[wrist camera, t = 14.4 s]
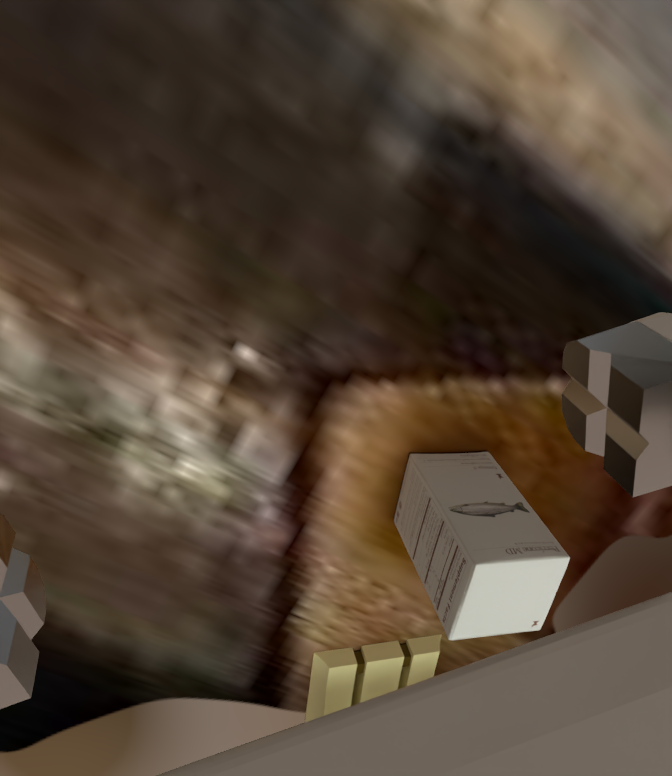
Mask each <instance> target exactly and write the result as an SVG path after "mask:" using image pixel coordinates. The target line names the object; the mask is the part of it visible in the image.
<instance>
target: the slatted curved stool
mask: <svg viewBox="0 0 672 776" xmlns="http://www.w3.org/2000/svg"><path fill="white" fill-rule="evenodd" d="M441 636H442V634H440V635H433V636H426V637H419V638H412V639H407V641H406V644H403V645H400V644H399V642H398V641H392V642H385V643H378V644H371V645H364V646H361V651H356V652H353V648H352V647H350V648H343V649H336V650H329V651H323V652H316V653H314V656H313V664H312V671H311V679H310V686H309V694H308V701H307V709H306V716H305V722H308V721H311V720H314V719H316V718H319V717H322V716H325V715H328V714H330V713H333V712H336V711H339V710H342V709H344V708H347V707H350V706H353V705H356V704H358V703H361V702H364V701H367V700H370V699H372V698H375V697H378V696H381V695H384V694H386V693H389V692H392V691H395V690H398V689H401V688H403V687H406V686H409V685H412V684H415V683H417V682H420V681H423V680H426V679H429V678H431V677H433V676H434V672H435V668H436V664H437V661H438V657H439V653H440V640H441ZM355 675H356V678H355ZM354 681H355V683H354ZM353 687H354V689H353Z"/></svg>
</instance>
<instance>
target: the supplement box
mask: <svg viewBox="0 0 672 776" xmlns="http://www.w3.org/2000/svg"><path fill="white" fill-rule="evenodd" d="M394 523H395V525H396V527H397V529H398V532H399V534H400V536H401V538H402V540H403V543H404V545H405V547H406V549H407V551H408V553H409V555H410V557H411V560H412V562H413V564H414V566H415V568H416V570H417V572H418V575H419V577H420V579H421V581H422V583H423V585H424V587H425V589H426V591H427V593H428V595H429V598H430V600H431V602H432V604H433V606H434V608H435V610H436V612H437V614H438V617H439V619H440V621H441V623H442V625H443V628H444V630H445V632H446V635H447V637H448V639H449V640H460V639H467V638H476V637H485V636H495V635H502V634H510V633H518V632H528V631H538V630H540V629H541V627H542V625H543V623H544V621H545V618H546V616H547V614H548V611H549V609H550V606H551V604H552V602H553V599H554V597H555V594H556V592H557V590H558V587H559V585H560V582H561V580H562V577H563V575H564V573H565V570H566V568H567V565H568V562H569V559H570V557H569V556H568V554H567V553H566V552H565V551H564V549H563V548H562V547H561V545H560V544H559V543H558V541H557V540H556V539H555V538H554V536H553V535H552V534H551V532H550V531H549V530H548V528H547V527H546V526H545V525H544V523H543V522H542V521H541V519H540V518H539V517H538V515H537V514H536V513H535V511H534V510H533V509H532V508H531V506H530V505H529V504H528V502H527V501H526V500H525V499H524V497H523V496H522V495H521V493H520V492H519V491H518V489H517V488H516V487H515V486H514V484H513V483H512V482H511V480H510V479H509V478H508V476H507V475H506V474H505V472H504V471H503V470H502V468H501V467H500V466H499V465H498V463H497V462H496V461H495V459H494V458H493V457H492V456H491V454H490V453H489V452H478V453H457V454H410V456H409V459H408V463H407V467H406V471H405V475H404V479H403V483H402V487H401V491H400V496H399V500H398V504H397V508H396V513H395V517H394Z"/></svg>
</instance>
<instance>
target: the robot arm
mask: <svg viewBox="0 0 672 776" xmlns="http://www.w3.org/2000/svg"><path fill="white" fill-rule="evenodd" d="M563 369H564V370H565V371H566V372H567V373H568V374H569V375H570V376H571V377H572V378H571V380H570V382H569V383H568V385H567V386H566V388H565V390H564V391H563V393H562V412H563V415H564V418H565V421H566V424H567V427H568V430H569V431H570V433H571V434H572V436H573V438H574V439H575V441H576V442H577V443H578V444H579V445H580V446H581V447H582V448H583V449H584V450H585V451H588V452H591V453H594V454H597V455H600V456H604V470H605V471H606V472H607V473H608V474H609V475H610V476H611V477H612V478H613V479H615V480H616V481H617V482H618V483H619V484H620V485H621V486H622V487H623V488H624V489H625V490H626V491H627V492H628V493H629V494H630V495H631V496H632V497H635V496H639V495H642V494H645V493H649V492H652V491H655V490H659V489H662V488H665V487H669V486H672V314H671V313H661V312H660V313H657V314H654V315H651V316H648V317H645V318H642V319H639V320H636V321H633V322H630V323H629V324H626V325H623V326H620V327H616V328H613V329H610V330H607V331H604V332H600V333H597V334H594V335H591V336H588V337H584V338H581V339H578V340H575V341H572V342H568V343H567V345H566V347H565V350H564V353H563ZM15 534H16V532H15V531H14V529H13V528H12V526H11V525H10V524H9V522H8V521H7V519H6V518H5V516H4V515H2V514H0V709H1V708H4V707H7V706H10V705H12V704H15V703H18V702H21V701H23V700H26V699H29V698H31V695H32V689H33V684H34V678H35V672H36V667H37V661H38V655H39V651H38V650H37V649H36V647H35V646H34V644H33V643H32V641H31V639H32V638H33V637H34V635H35V634H36V633H37V632H38V630H39V629H40V628H41V627H42V626H43V624H44V619H45V612H46V597H45V588H44V583H43V580H42V578H41V575H40V572H39V570H38V568H37V566H36V564H35V563H34V561H33V559H32V558H31V556H29V555H27V554H24V553H22V552H20V551H17V550H15V549H13V548H12V546H13V542H14V538H15ZM156 776H672V592H670V593H667V594H664V595H661V596H659V597H656V598H653V599H650V600H647V601H645V602H642V603H639V604H636V605H634V606H631V607H628V608H625V609H622V610H620V611H617V612H614V613H611V614H608V615H605V616H603V617H600V618H597V619H594V620H591V621H589V622H586V623H583V624H580V625H577V626H574V627H572V628H569V629H566V630H563V631H561V632H558V633H555V634H552V635H549V636H546V637H544V638H541V639H538V640H535V641H532V642H530V643H527V644H524V645H521V646H518V647H516V648H513V649H510V650H507V651H504V652H502V653H499V654H496V655H493V656H490V657H488V658H485V659H482V660H479V661H476V662H473V663H471V664H468V665H465V666H462V667H459V668H457V669H454V670H451V671H448V672H445V673H443V674H440V675H437V676H434V677H431V678H429V679H426V680H423V681H420V682H417V683H415V684H412V685H409V686H406V687H403V688H401V689H398V690H395V691H392V692H389V693H386V694H384V695H381V696H378V697H375V698H372V699H370V700H367V701H364V702H361V703H358V704H356V705H353V706H350V707H347V708H344V709H342V710H339V711H336V712H333V713H330V714H328V715H325V716H322V717H319V718H316V719H314V720H311V721H308V722H305V723H302V724H300V725H297V726H294V727H291V728H288V729H285V730H283V731H280V732H277V733H274V734H272V735H269V736H266V737H263V738H260V739H258V740H255V741H252V742H249V743H246V744H244V745H241V746H238V747H235V748H233V749H230V750H227V751H224V752H221V753H218V754H215V755H213V756H210V757H207V758H204V759H201V760H198V761H196V762H193V763H190V764H187V765H184V766H182V767H179V768H176V769H174V770H170V771H168V772H165V773H162V774H160V775H156Z"/></svg>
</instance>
